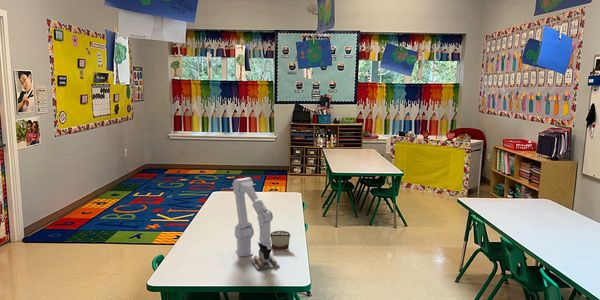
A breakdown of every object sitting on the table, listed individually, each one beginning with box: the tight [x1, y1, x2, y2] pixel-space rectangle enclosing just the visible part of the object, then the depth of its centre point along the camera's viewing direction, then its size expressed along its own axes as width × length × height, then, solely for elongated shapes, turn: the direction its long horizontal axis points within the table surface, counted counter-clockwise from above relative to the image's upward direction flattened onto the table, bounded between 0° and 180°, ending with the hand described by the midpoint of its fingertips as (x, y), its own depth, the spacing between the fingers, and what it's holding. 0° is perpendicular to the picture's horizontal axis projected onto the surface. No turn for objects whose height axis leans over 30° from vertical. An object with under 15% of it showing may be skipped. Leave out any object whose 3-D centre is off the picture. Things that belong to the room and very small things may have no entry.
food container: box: [270, 230, 292, 251], centre depth 262 cm, size 12×6×10 cm, turn 92°
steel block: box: [258, 248, 270, 263], centre depth 238 cm, size 4×4×6 cm
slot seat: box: [250, 254, 280, 272], centre depth 239 cm, size 12×12×4 cm
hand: (265, 257), depth 239 cm, fingers closed on steel block, 4 cm apart
